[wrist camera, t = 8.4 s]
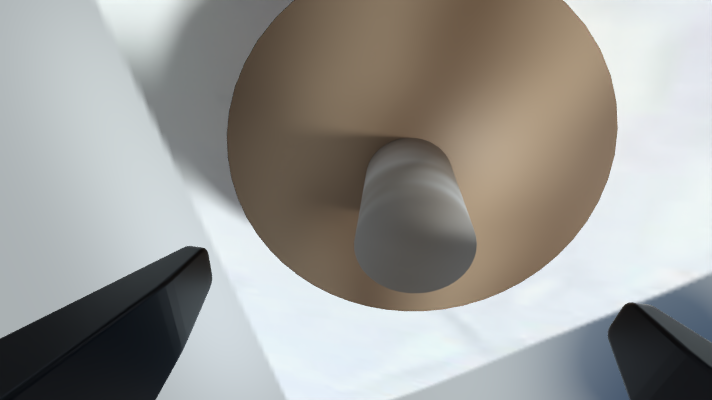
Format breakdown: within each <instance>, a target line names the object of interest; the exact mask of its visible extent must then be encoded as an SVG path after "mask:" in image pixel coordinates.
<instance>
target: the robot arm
mask: <svg viewBox="0 0 712 400" xmlns="http://www.w3.org/2000/svg"><path fill="white" fill-rule="evenodd" d="M211 283H212V272H211V267H210V261H209V255H208V252H207V250H206V249H205V248H201V247H193V246H187V247H184V248H182V249H180V250H178V251H176V252H174V253H172V254H170V255H168V256H166V257H164V258H162V259H160V260H158V261H156V262H153V263H152V264H149V265H147V266H146V267H144V268H141V269H139V270H137V271H135V272H133V273H132V274H129V275H127V276H126V277H123V278H121V279H119V280H117V281H115V282H114V283H112V284H109V285H107V286H105V287H103V288H101V289H100V290H97V291H95V292H93V293H91V294H89V295H87V296H85V297H83V298H81V299H79V300H77V301H75V302H73V303H71V304H69V305H67V306H65V307H63V308H61V309H59V310H57V311H55V312H53V313H51V314H49V315H47V316H45V317H43V318H41V319H39V320H37V321H35V322H33V323H31V324H29V325H27V326H25V327H23V328H21V329H19V330H17V331H15V332H13V333H11V334H9V335H7V336H5V337H3V338H1V339H0V400H155V399H156V398H157V396H158V394H159V393H160V391H161V389H162V387H163V385H164V383H165V382H166V380H167V378H168V376H169V375H170V373H171V371H172V369H173V368H174V366H175V364H176V362H177V360H178V358H179V357H180V355H181V353H182V351H183V349H184V347H185V344H186V342H187V340H188V338H189V335H190V333H191V331H192V329H193V326H194V324H195V321H196V319H197V317H198V315H199V312H200V310H201V308H202V305H203V303H204V300H205V298H206V296H207V294H208V291H209V289H210V286H211ZM608 339H609V342H610V345H611V348H612V351H613V354H614V357H615V359H616V362H617V365H618V368H619V371H620V373H621V376H622V379H623V382H624V385H625V387H626V390H627V393H628V396H629V398H630V400H712V343H711V342H710V341H708V340H707V339H705V338H703V337H702V336H700V335H699V334H697V333H695V332H694V331H692V330H691V329H689V328H687V327H686V326H684V325H683V324H681V323H679V322H678V321H676V320H675V319H673V318H671V317H670V316H668V315H667V314H665V313H663V312H662V311H660V310H659V309H657V308H656V307H654V306H651V305H648V304H641V303H633V302H631V303H627V304H625V305H624V306H623V307H622V309H621V310H620V312H619V313H618V315H617V316H616V318H615V320H614V321H613V323H612V324H611V326H610V327H609V330H608Z"/></svg>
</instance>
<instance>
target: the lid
mask: <svg viewBox="0 0 712 400" xmlns="http://www.w3.org/2000/svg"><path fill="white" fill-rule="evenodd" d="M616 138H617V106H616V99H615V94H614V89H613V84H612V79H611V75H610V73H609V70H608V68H607V65H606V63H605V60H604V58H603V55H602V52H601V50H600V48H599V47H598V45H597V43H596V42H595V40H594V38H593V37H592V35H591V34H590V32H589V30H588V29H587V27H586V25H585V24H584V23H583V22H582V21H581V20H580V18H579V17H578V16H577V15H576V14H575V13H574V12H573V10H572V9H571V8H570V7H569V6H568V5H567V4H566V3H565V2H564V1H563V0H294V1H293V2H292V3H291V4H290V5H289V6H288V7H287V8H286V9H284V10H283V11H282V12H281V13H280V14H279V15H278V16H277V17H276V18H275V19H274V20H273V22H272V23H271V24H270V25H269V27H268V28H267V29H266V31H265V32H264V33H263V34H262V36H261V37H260V38H259V39H258V41H257V43H256V44H255V46H254V48H253V49H252V51H251V53H250V55H249V56H248V58H247V60H246V62H245V63H244V66H243V68H242V71H241V73H240V76H239V78H238V81H237V83H236V86H235V89H234V93H233V97H232V102H231V106H230V110H229V118H228V129H227V148H228V161H229V166H230V172H231V177H232V181H233V184H234V187H235V191H236V194H237V197H238V200H239V202H240V204H241V206H242V208H243V210H244V212H245V215H246V217H247V219H248V220H249V222H250V223H251V225H252V227H253V228H254V230H255V231H256V233H257V235H258V236H259V237H260V238H261V240H262V241H263V242H264V243H265V245H266V246H267V247H268V248H269V250H270V251H271V252H272V253H273V254H274V255H275V256H276V257H277V258H278V259H279V260H280V261H281V262H282V263H284V264H285V265H286V266H287V267H289V268H290V269H291V270H292V271H294V272H295V273H296V274H297V275H299V276H300V277H302V278H303V279H305V280H306V281H308V282H310V283H311V284H313V285H314V286H316V287H318V288H320V289H322V290H324V291H326V292H328V293H330V294H332V295H335V296H337V297H340V298H343V299H345V300H348V301H351V302H354V303H358V304H361V305H365V306H370V307H375V308H380V309H386V310H398V311H430V310H440V309H447V308H452V307H458V306H463V305H467V304H470V303H473V302H477V301H480V300H484V299H486V298H489V297H491V296H494V295H496V294H499V293H501V292H503V291H505V290H507V289H509V288H511V287H513V286H515V285H517V284H519V283H521V282H522V281H524V280H525V279H527V278H528V277H530V276H532V275H533V274H535V273H536V272H538V271H539V270H540V269H542V268H543V267H544V266H545V265H547V264H548V263H549V262H550V261H551V260H553V259H554V258H555V257H556V256H557V255H558V254H559V253H560V252H561V251H562V250H563V249H564V248H565V247H566V246H567V245H568V244H569V243H570V242H571V241H572V240H573V239H574V237H575V236H576V235H577V233H578V232H579V231H580V230H581V228H582V227H583V226H584V224H585V223H586V222H587V220H588V218H589V217H590V215H591V213H592V212H593V210H594V208H595V207H596V205H597V203H598V201H599V199H600V197H601V194H602V192H603V190H604V187H605V185H606V183H607V180H608V177H609V174H610V170H611V166H612V162H613V159H614V155H615V147H616Z"/></svg>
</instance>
